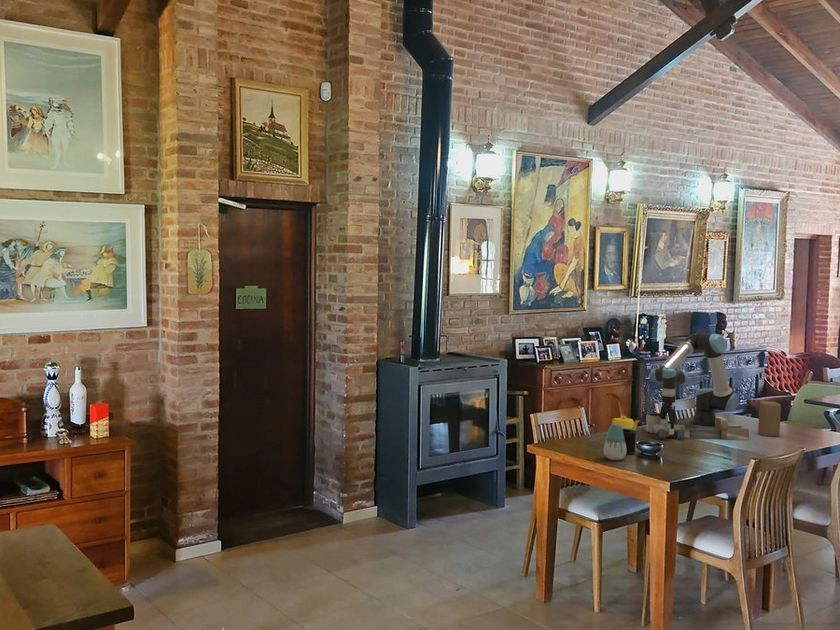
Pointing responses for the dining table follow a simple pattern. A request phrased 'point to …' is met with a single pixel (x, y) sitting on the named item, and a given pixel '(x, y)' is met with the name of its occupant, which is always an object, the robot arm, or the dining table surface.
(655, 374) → the robot arm
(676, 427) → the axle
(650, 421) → the planter
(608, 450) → the vase
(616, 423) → the teapot
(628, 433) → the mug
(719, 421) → the beam
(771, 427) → the wooden block
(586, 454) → the dining table surface
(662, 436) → the v block
